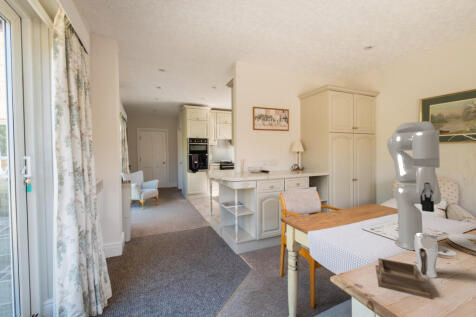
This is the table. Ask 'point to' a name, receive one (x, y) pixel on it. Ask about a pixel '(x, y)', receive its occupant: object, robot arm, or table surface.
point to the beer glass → (426, 253)
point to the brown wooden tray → (401, 277)
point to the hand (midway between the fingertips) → (426, 208)
